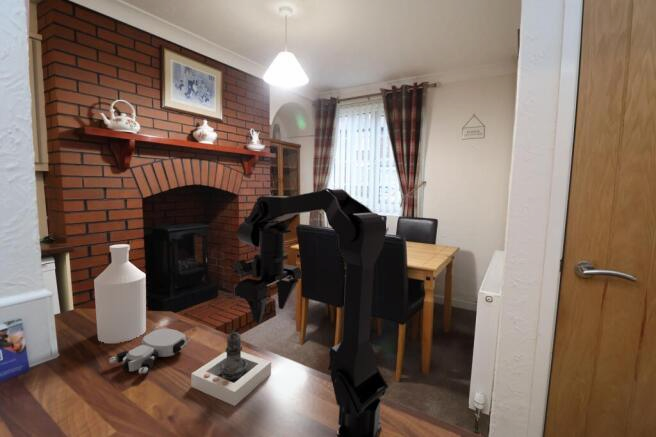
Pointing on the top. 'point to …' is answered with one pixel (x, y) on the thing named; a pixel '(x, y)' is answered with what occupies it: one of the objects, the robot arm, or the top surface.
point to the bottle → (120, 299)
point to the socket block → (225, 389)
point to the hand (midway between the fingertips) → (270, 315)
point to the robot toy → (152, 349)
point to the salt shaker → (233, 359)
